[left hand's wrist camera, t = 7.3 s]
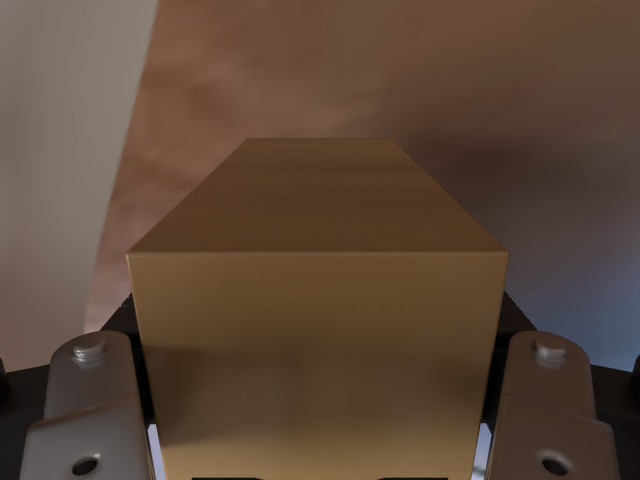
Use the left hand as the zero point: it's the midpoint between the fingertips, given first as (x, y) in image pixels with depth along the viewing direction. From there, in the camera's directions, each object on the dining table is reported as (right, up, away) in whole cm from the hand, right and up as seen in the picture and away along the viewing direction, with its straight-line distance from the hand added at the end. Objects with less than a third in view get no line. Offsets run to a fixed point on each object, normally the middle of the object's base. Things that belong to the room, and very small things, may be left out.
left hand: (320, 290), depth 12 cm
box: (0, -4, +10) cm, 11 cm away
